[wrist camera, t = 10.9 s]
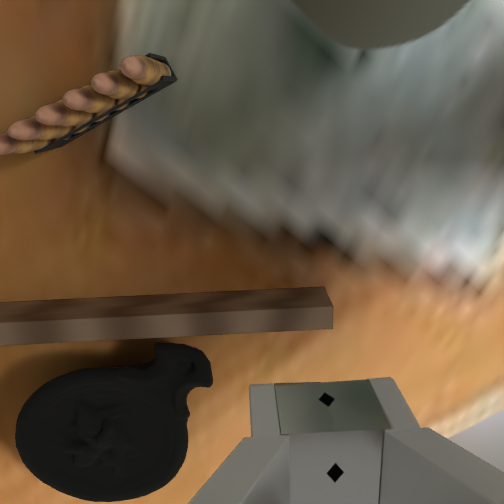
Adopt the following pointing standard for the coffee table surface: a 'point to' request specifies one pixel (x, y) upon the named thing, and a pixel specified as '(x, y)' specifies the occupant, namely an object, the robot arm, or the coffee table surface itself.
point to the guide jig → (165, 315)
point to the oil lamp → (113, 426)
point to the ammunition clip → (88, 105)
